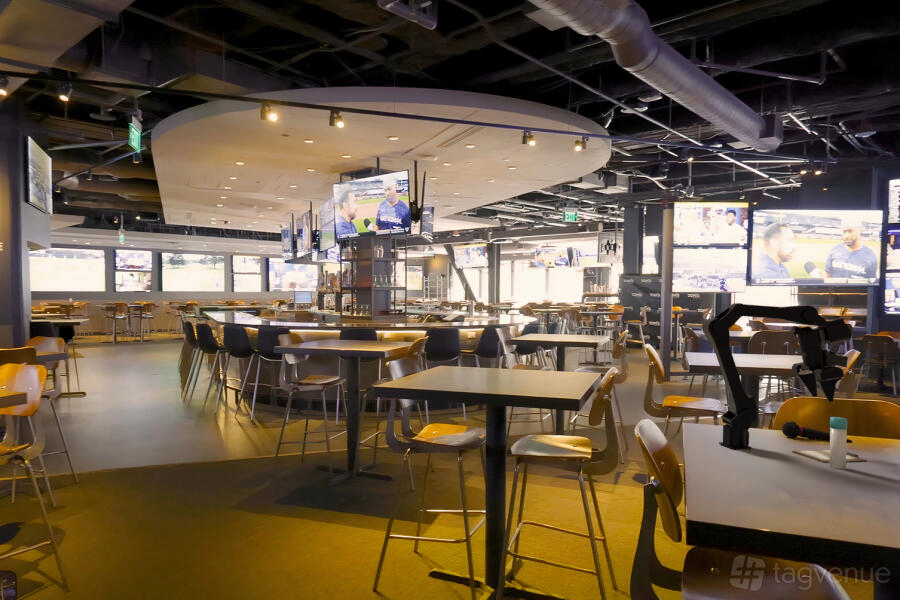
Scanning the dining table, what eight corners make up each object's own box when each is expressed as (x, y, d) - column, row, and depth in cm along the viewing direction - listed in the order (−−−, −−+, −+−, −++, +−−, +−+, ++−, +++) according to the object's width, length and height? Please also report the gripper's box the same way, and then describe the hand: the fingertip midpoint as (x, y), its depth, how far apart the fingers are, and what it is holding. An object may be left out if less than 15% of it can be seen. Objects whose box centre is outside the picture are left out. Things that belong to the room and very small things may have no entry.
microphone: (848, 451, 183) (779, 437, 188) (848, 433, 184) (780, 420, 190) (855, 449, 178) (784, 436, 183) (856, 431, 179) (785, 418, 185)
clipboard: (823, 462, 155) (823, 458, 155) (792, 452, 166) (792, 448, 166) (866, 461, 158) (866, 457, 158) (833, 451, 169) (833, 447, 169)
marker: (837, 469, 149) (838, 419, 149) (825, 465, 152) (826, 416, 152) (850, 469, 149) (851, 419, 149) (837, 465, 153) (838, 416, 153)
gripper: (858, 343, 158) (870, 399, 157) (823, 339, 176) (835, 389, 176) (815, 351, 159) (828, 406, 159) (786, 346, 178) (797, 395, 177)
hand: (822, 399), depth 168 cm, fingers open, 9 cm apart
